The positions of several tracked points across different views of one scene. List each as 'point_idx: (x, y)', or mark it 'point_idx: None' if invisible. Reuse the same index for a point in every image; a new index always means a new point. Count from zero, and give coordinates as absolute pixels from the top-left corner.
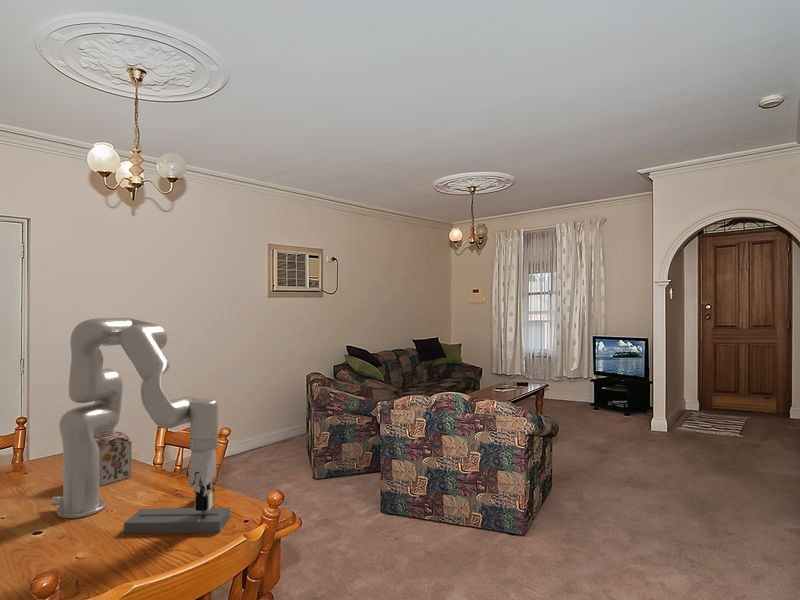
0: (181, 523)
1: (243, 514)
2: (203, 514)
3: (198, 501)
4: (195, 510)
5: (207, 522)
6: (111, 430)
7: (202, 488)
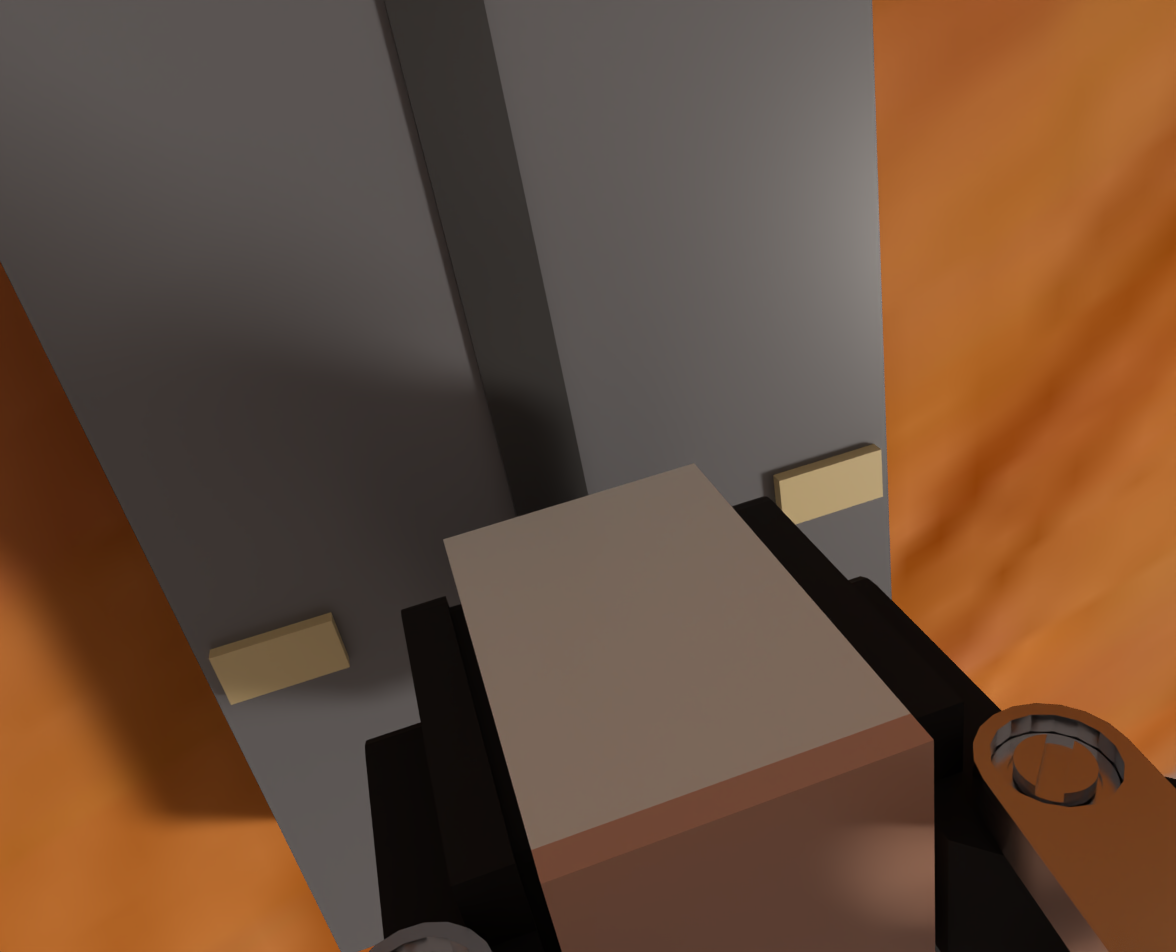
0: (65, 360)
1: None
2: None
3: (386, 886)
4: (449, 551)
5: (273, 808)
6: None
7: (1003, 827)
